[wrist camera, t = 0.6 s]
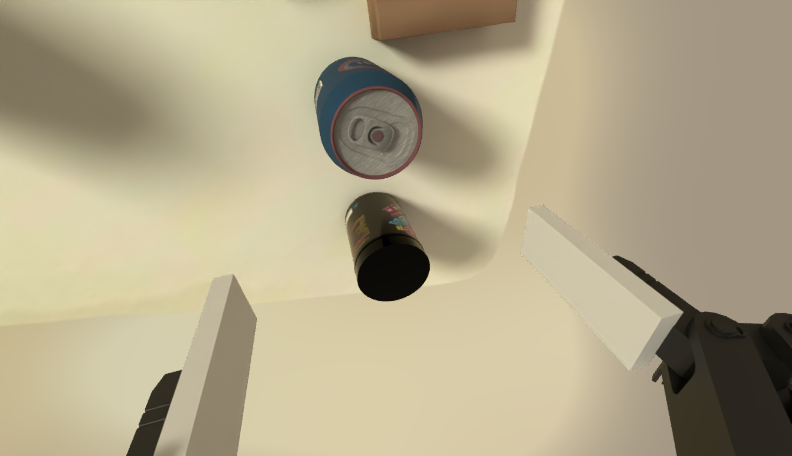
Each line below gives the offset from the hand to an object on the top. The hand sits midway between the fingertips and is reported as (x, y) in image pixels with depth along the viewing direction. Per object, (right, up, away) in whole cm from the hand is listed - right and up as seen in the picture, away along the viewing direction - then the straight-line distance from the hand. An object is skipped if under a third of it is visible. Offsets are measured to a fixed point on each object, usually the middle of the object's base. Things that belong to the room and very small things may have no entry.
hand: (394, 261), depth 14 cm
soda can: (-4, +14, +15) cm, 21 cm away
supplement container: (-3, +3, +23) cm, 23 cm away
